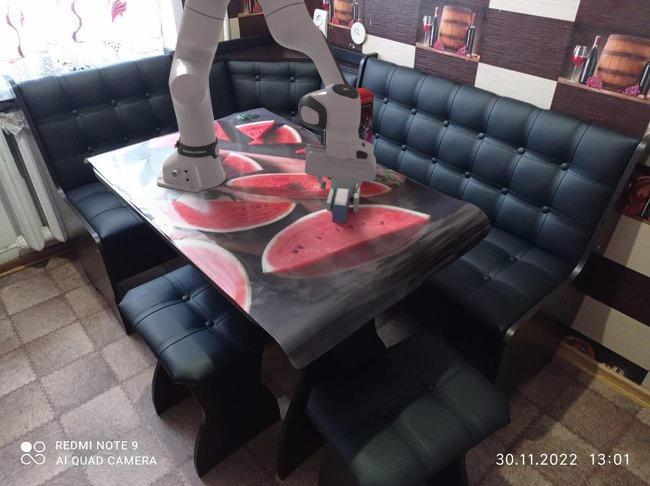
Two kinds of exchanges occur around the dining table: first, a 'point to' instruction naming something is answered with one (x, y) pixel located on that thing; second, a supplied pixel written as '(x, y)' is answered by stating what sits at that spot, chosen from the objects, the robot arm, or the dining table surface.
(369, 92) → the graphics card box
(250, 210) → the dining table surface
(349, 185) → the bracket
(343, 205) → the book
